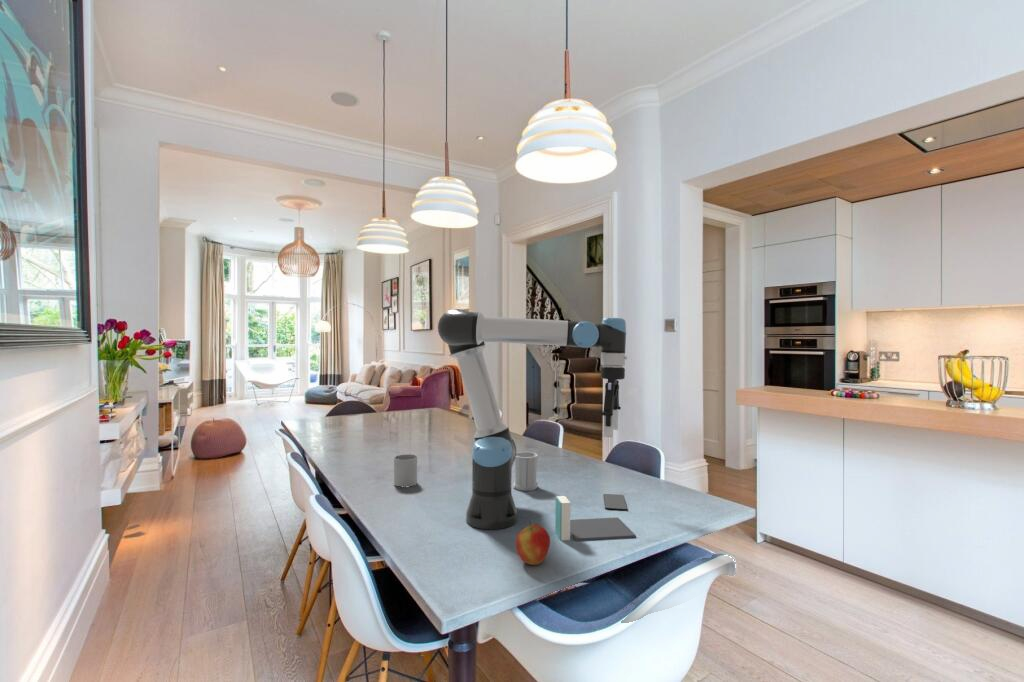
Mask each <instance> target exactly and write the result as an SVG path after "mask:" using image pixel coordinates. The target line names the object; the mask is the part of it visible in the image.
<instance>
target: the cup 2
mask: <svg viewBox="0 0 1024 682" xmlns="http://www.w3.org/2000/svg"><path fill="white" fill-rule="evenodd" d="M538 456H539V454H537V453H536V452H532V451H519V452H516V458H515V460H514V462H513V467H514V482H513V488H514V489H515V490H516V489H517V490H516V491H520V492H530V491H531V492H532V491H535V490H536V489H537V488H538V482H537V470H538V468H537V467H538V458H539V457H538Z"/></svg>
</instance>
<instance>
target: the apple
mask: <svg viewBox="0 0 1024 682" xmlns="http://www.w3.org/2000/svg"><path fill="white" fill-rule="evenodd" d="M528 522H529V525H528V526H527V527H524V528H523V529H521V530H520V531H519V532H518V534H517V535H516V540H515V545H516V546H515V547H516V551H517V554H518V556H519V557H520V559H521V560H522V561H523V562H524V563H525V564H527V565H530V566H536V565H539V564H541V563H542V562H543V561H544V560H545V559H546V557H547V555H548V553H549V550H550V544H551V538H550V535H549V533H548V531H547V530H546V529H545V528H544V527H543V526H542V525H540V524H536V523H535V524H532V523H531V519H530V520H528Z"/></svg>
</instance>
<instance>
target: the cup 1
mask: <svg viewBox="0 0 1024 682" xmlns="http://www.w3.org/2000/svg"><path fill="white" fill-rule="evenodd" d="M415 484H416V485H418V455H415V454H409V453H407V454H398V455H396V456H394V457H393V486H394V485H396V486H401V487H402V486H403V487H406V486H412V487H414V486H413V485H415ZM416 485H415V486H416ZM396 486H395V487H396ZM406 488H407V487H406Z"/></svg>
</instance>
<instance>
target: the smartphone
mask: <svg viewBox="0 0 1024 682" xmlns="http://www.w3.org/2000/svg"><path fill="white" fill-rule="evenodd" d="M603 502H604V509H605V510H606V511H618V512H619V511H621V512H627V511H628V508H627V503H626V499H625V496H624V494H617V493H615V494H614V493H611V494H610V493H603Z"/></svg>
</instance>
